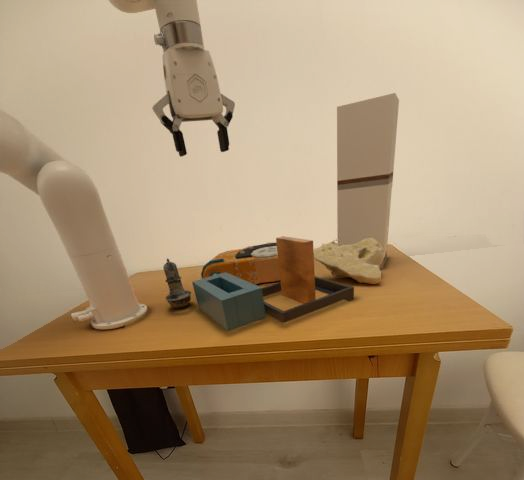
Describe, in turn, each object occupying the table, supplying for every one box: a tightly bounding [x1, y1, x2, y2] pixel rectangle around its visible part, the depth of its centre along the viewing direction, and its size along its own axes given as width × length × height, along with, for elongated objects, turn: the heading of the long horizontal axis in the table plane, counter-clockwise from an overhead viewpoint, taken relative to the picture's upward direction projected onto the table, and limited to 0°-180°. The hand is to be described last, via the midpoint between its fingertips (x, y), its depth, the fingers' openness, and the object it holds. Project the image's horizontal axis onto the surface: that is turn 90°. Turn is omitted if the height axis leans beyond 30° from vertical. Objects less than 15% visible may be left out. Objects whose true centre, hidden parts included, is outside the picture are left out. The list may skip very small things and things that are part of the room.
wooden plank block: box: [275, 236, 317, 304], centre depth 61 cm, size 10×2×12 cm, turn 31°
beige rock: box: [313, 238, 384, 285], centre depth 71 cm, size 15×7×15 cm
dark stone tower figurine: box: [162, 257, 192, 310], centre depth 66 cm, size 6×6×12 cm
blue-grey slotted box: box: [191, 272, 267, 332], centre depth 61 cm, size 8×16×7 cm, turn 31°
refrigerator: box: [336, 92, 400, 270], centre depth 73 cm, size 11×11×35 cm
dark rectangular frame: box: [261, 275, 355, 323], centre depth 63 cm, size 18×16×3 cm
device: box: [200, 242, 280, 285], centre depth 83 cm, size 23×8×30 cm
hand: (204, 153), depth 64 cm, fingers open, 9 cm apart
